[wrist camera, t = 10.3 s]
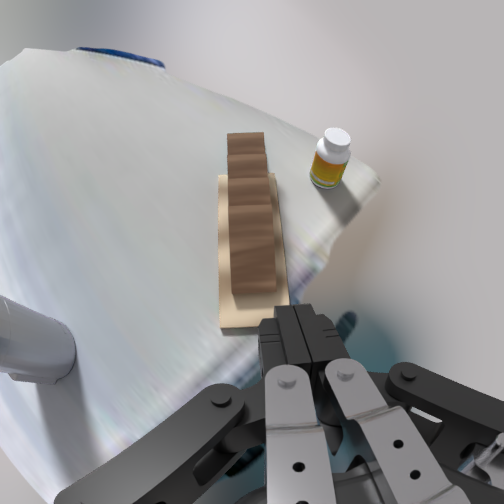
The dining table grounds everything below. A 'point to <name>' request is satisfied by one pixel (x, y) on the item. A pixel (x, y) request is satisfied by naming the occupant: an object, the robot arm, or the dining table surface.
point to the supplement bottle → (330, 158)
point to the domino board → (230, 305)
